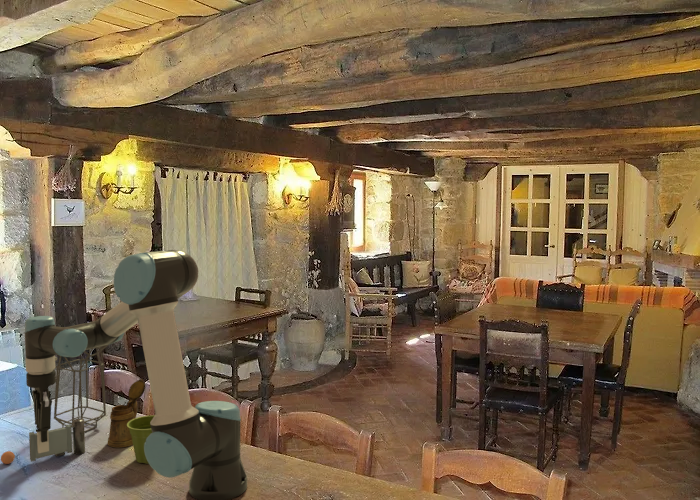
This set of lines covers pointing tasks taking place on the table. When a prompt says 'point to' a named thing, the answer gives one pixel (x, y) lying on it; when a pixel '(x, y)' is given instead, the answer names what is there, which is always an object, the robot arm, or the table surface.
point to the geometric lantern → (81, 389)
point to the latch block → (60, 454)
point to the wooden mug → (125, 417)
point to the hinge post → (78, 436)
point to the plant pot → (140, 435)
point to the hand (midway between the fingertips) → (43, 451)
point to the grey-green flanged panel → (52, 442)
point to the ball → (7, 457)
